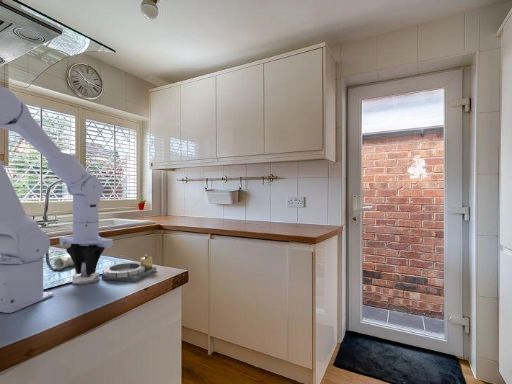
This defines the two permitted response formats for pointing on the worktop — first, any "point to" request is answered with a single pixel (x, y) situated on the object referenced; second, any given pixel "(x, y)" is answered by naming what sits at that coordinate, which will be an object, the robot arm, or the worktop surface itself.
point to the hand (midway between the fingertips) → (86, 273)
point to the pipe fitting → (63, 262)
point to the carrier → (129, 270)
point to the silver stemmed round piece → (84, 276)
